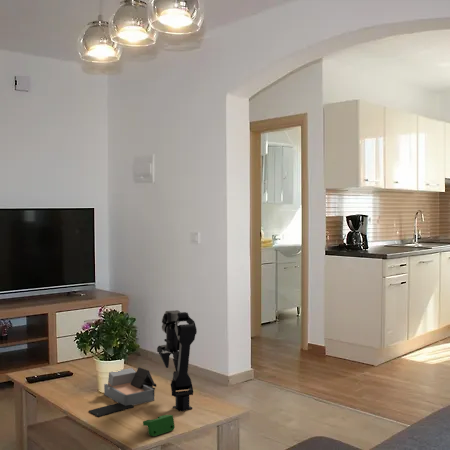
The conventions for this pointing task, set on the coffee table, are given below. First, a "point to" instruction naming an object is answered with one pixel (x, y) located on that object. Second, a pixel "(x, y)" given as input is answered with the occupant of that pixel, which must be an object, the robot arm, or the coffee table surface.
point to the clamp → (160, 425)
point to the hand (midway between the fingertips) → (172, 369)
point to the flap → (123, 381)
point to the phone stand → (143, 379)
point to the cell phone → (110, 409)
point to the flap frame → (129, 395)
